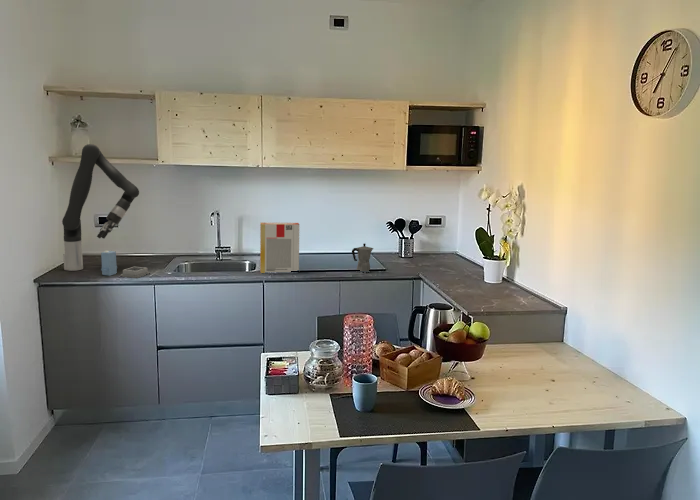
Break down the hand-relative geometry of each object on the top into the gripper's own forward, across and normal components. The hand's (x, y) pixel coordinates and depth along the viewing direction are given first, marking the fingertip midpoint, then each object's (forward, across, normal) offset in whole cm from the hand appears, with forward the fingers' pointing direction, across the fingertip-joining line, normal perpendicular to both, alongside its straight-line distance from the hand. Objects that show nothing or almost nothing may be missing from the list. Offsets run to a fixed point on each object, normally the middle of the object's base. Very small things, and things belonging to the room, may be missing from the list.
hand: (100, 237), depth 315 cm
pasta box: (-32, +53, +86) cm, 106 cm away
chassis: (+10, +17, +24) cm, 31 cm away
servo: (+16, +7, +14) cm, 22 cm away
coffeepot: (-56, +79, +122) cm, 156 cm away
